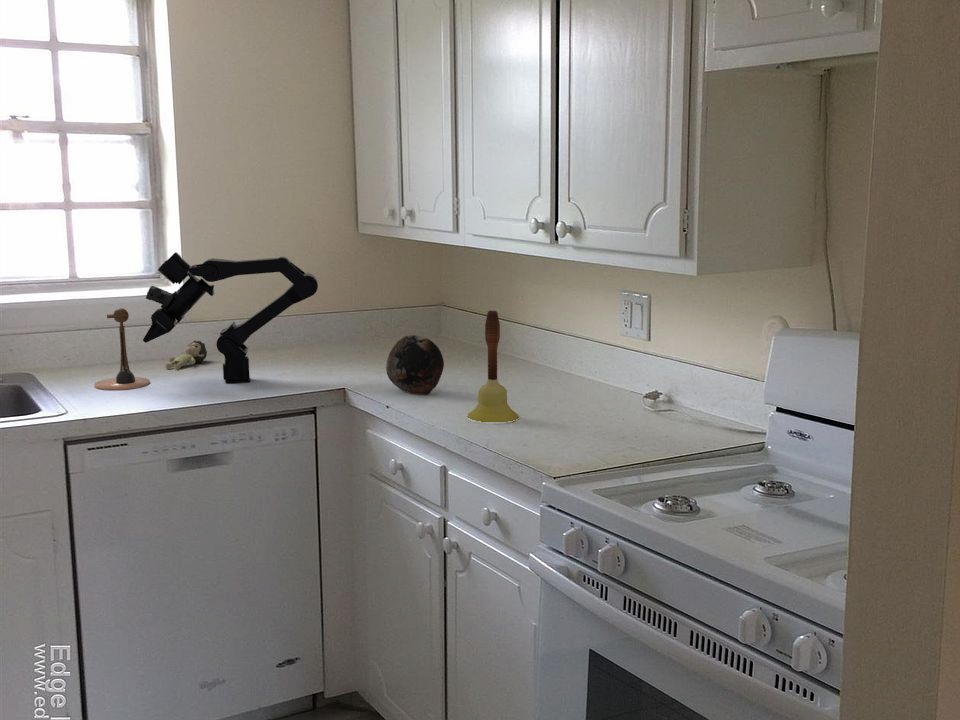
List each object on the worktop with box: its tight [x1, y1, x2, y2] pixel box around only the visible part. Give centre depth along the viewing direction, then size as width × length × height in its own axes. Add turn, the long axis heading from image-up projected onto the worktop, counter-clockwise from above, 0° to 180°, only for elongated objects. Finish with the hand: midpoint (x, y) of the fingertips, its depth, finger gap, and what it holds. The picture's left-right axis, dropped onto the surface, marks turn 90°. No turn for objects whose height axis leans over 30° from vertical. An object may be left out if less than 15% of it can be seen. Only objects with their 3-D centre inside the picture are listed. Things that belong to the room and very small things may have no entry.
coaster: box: [94, 376, 150, 391], centre depth 277 cm, size 14×14×1 cm
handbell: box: [466, 310, 520, 422], centre depth 237 cm, size 12×12×25 cm
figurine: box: [165, 340, 208, 371], centre depth 302 cm, size 8×6×15 cm
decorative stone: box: [385, 334, 445, 395], centre depth 265 cm, size 18×9×15 cm, turn 53°
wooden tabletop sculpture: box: [106, 307, 136, 384], centre depth 275 cm, size 6×5×20 cm
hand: (147, 338), depth 276 cm, fingers open, 9 cm apart
